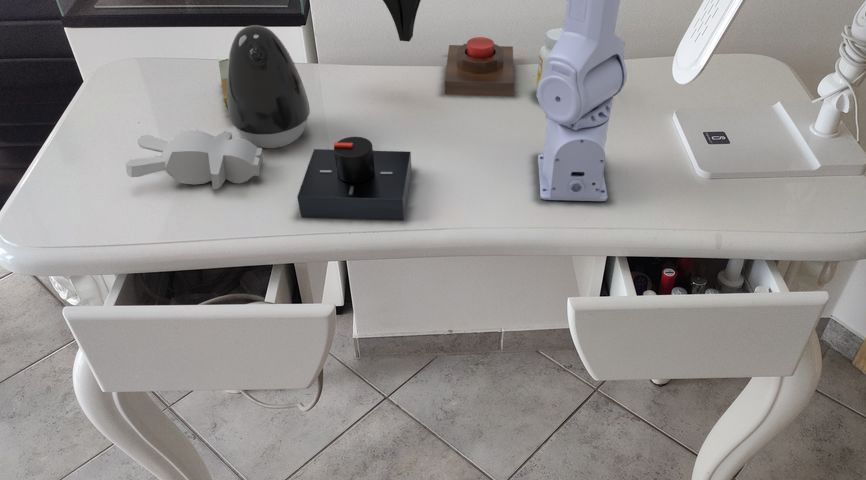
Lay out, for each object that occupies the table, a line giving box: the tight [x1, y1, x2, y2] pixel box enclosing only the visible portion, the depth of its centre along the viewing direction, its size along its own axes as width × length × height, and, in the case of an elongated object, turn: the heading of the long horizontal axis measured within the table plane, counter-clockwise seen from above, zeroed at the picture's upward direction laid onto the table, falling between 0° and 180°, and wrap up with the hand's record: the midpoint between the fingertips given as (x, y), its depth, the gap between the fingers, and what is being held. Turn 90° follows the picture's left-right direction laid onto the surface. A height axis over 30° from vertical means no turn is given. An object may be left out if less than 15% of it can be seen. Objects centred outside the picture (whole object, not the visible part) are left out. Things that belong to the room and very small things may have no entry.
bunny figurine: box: [125, 129, 264, 190], centre depth 87 cm, size 10×5×15 cm
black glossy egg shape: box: [227, 24, 311, 149], centre depth 90 cm, size 10×10×15 cm
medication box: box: [218, 58, 229, 110], centre depth 101 cm, size 12×3×4 cm, turn 18°
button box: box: [444, 43, 515, 97], centre depth 108 cm, size 12×10×4 cm
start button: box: [466, 36, 495, 59], centre depth 106 cm, size 4×4×2 cm
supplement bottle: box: [535, 27, 564, 100], centre depth 101 cm, size 5×5×10 cm
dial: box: [333, 136, 375, 183], centre depth 83 cm, size 4×4×4 cm
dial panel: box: [296, 148, 413, 221], centre depth 85 cm, size 10×12×3 cm
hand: (406, 38), depth 97 cm, fingers closed
